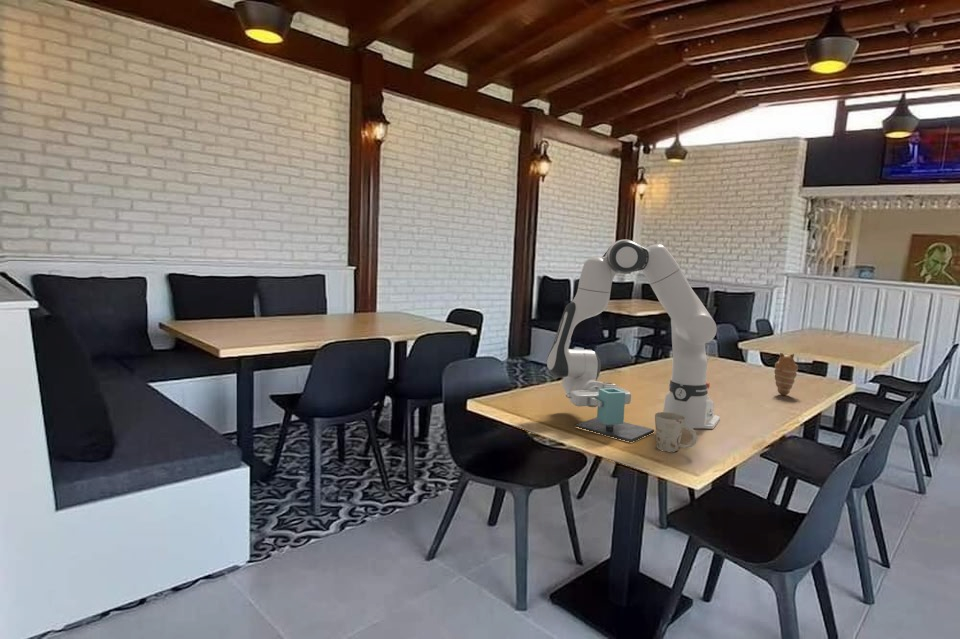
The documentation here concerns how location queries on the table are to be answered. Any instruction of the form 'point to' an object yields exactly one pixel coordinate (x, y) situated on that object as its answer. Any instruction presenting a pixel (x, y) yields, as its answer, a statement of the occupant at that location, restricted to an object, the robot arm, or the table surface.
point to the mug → (671, 431)
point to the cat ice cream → (785, 373)
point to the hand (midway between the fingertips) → (612, 403)
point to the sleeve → (611, 406)
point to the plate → (616, 429)
